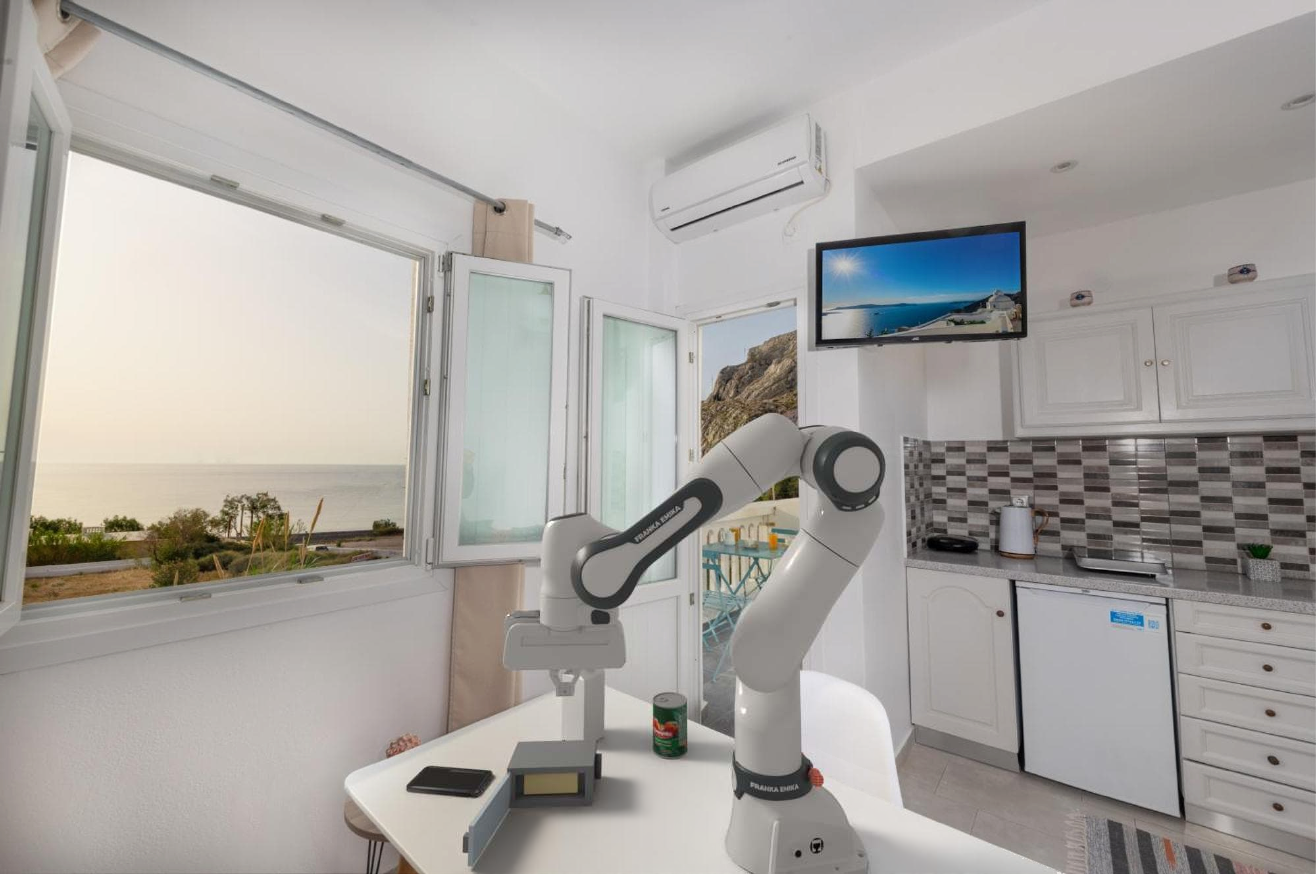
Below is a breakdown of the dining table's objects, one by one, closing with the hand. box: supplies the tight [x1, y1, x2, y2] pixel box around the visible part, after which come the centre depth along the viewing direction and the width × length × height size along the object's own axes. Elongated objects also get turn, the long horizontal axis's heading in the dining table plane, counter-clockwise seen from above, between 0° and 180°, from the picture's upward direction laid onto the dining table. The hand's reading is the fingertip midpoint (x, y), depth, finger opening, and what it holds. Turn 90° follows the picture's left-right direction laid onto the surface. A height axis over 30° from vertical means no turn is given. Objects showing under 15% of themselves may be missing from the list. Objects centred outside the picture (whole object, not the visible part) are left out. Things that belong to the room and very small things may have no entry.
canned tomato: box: [652, 691, 689, 760], centre depth 115 cm, size 8×8×11 cm
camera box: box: [506, 740, 603, 809], centre depth 100 cm, size 17×10×7 cm, turn 93°
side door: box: [462, 771, 512, 868], centre depth 87 cm, size 15×2×6 cm, turn 173°
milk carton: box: [561, 669, 606, 741], centre depth 120 cm, size 7×7×19 cm
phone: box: [405, 765, 494, 798], centre depth 102 cm, size 8×1×15 cm
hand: (565, 695), depth 85 cm, fingers closed
